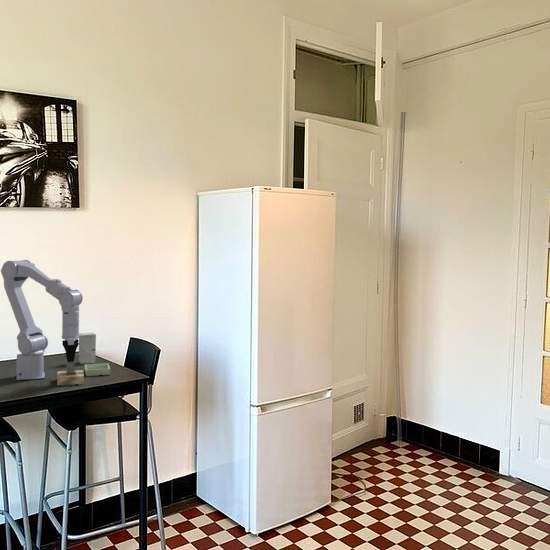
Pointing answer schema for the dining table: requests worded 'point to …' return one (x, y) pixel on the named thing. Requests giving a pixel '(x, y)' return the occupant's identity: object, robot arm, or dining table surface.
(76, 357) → the t key
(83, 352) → the skincare box
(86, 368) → the tray
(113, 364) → the dining table surface
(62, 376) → the key block
